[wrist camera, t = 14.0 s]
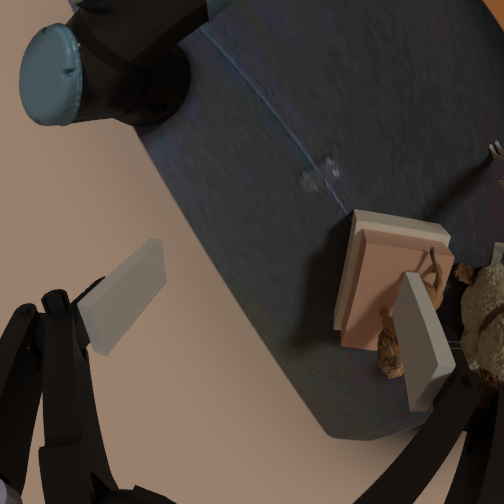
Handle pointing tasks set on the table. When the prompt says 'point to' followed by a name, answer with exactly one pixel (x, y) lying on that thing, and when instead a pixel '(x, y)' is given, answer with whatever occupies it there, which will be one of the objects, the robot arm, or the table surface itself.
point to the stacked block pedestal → (383, 270)
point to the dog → (484, 318)
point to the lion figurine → (387, 337)
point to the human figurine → (495, 155)
